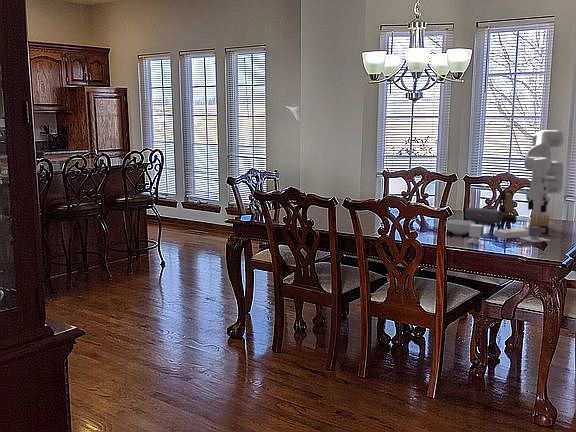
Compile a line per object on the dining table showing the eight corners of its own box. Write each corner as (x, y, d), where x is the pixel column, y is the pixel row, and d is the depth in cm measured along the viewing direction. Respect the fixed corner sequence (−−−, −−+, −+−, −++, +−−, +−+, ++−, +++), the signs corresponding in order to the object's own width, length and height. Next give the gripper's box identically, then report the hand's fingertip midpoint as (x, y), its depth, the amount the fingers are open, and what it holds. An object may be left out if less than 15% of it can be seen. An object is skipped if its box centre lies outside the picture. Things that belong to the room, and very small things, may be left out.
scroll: (504, 222, 400) (506, 192, 397) (489, 218, 413) (490, 190, 410) (521, 220, 405) (523, 191, 402) (505, 217, 419) (507, 189, 416)
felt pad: (535, 237, 346) (535, 236, 346) (550, 241, 335) (551, 240, 335) (518, 238, 342) (518, 237, 341) (534, 242, 330) (534, 241, 330)
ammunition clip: (548, 234, 356) (549, 214, 354) (548, 234, 354) (549, 214, 352) (528, 233, 359) (530, 213, 358) (528, 233, 358) (530, 213, 356)
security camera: (479, 244, 324) (480, 226, 322) (467, 243, 328) (467, 225, 326) (482, 242, 329) (483, 224, 328) (470, 241, 333) (471, 223, 331)
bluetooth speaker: (464, 221, 399) (464, 207, 398) (471, 220, 406) (472, 205, 404) (495, 226, 383) (496, 211, 381) (502, 224, 389) (503, 209, 388)
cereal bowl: (454, 236, 347) (455, 224, 346) (439, 231, 363) (440, 220, 361) (480, 235, 351) (480, 223, 350) (464, 230, 367) (465, 219, 366)
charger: (535, 237, 341) (536, 226, 340) (540, 239, 337) (541, 227, 336) (528, 238, 339) (529, 226, 338) (533, 239, 335) (534, 227, 334)
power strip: (526, 233, 357) (527, 226, 357) (536, 235, 350) (537, 229, 349) (494, 236, 349) (494, 229, 348) (503, 238, 341) (504, 231, 341)
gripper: (555, 181, 326) (553, 212, 329) (532, 178, 342) (530, 208, 345) (545, 182, 324) (543, 213, 327) (522, 179, 340) (520, 208, 343)
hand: (536, 210), depth 336 cm, fingers open, 9 cm apart
